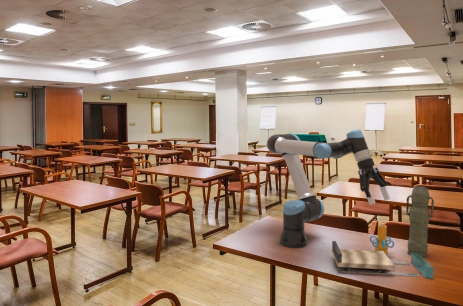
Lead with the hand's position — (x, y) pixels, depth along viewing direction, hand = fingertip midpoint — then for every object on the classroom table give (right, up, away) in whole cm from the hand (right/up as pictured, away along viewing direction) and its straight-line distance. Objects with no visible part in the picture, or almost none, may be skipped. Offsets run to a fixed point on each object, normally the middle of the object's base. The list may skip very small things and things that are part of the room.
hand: (380, 202), depth 158 cm
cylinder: (+6, -29, +13) cm, 32 cm away
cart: (-10, -30, -2) cm, 32 cm away
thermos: (+24, -29, +12) cm, 40 cm away
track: (-1, -30, -3) cm, 30 cm away
